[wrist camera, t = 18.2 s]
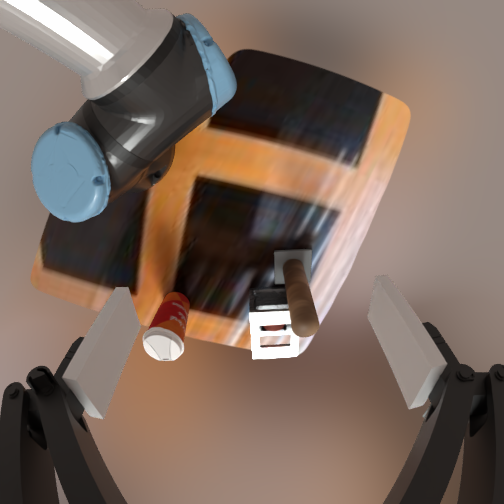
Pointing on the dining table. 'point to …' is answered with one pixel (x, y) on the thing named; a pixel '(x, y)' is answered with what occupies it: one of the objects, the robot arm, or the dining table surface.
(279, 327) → the button
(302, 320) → the stylus
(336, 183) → the dining table surface
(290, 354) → the box
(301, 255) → the mat
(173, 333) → the paper cup
